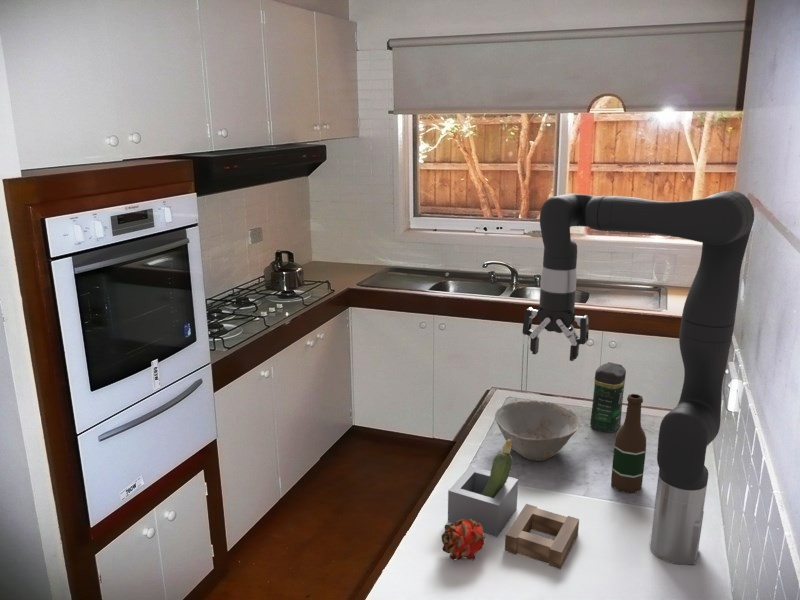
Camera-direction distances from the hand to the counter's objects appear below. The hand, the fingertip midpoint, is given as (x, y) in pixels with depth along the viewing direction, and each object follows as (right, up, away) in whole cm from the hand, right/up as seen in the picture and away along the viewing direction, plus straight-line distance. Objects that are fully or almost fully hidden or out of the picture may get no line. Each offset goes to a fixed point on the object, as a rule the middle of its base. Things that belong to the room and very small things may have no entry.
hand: (553, 356), depth 152 cm
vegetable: (-15, -37, +3) cm, 40 cm away
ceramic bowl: (+2, -29, +31) cm, 42 cm away
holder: (-16, -37, +3) cm, 40 cm away
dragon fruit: (-21, -41, -9) cm, 47 cm away
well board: (-4, -40, -6) cm, 40 cm away
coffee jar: (+26, -24, +46) cm, 58 cm away
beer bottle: (+21, -33, +15) cm, 42 cm away
